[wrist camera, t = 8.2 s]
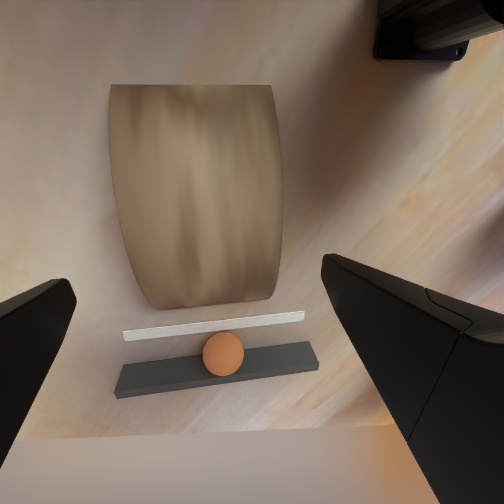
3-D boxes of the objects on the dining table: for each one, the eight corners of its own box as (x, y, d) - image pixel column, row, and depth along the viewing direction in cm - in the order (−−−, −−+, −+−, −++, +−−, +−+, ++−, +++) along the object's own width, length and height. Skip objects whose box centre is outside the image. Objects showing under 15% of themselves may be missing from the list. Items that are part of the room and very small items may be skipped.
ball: (239, 348, 28) (248, 379, 25) (202, 355, 27) (206, 389, 24) (238, 320, 26) (248, 350, 23) (199, 327, 25) (203, 360, 22)
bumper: (309, 341, 29) (319, 363, 26) (308, 347, 29) (318, 370, 27) (123, 364, 26) (114, 392, 24) (125, 371, 27) (116, 398, 24)
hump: (240, 81, 31) (292, 20, 12) (245, 242, 41) (276, 350, 22) (156, 80, 30) (61, 12, 11) (182, 247, 40) (157, 366, 21)
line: (304, 310, 27) (304, 311, 26) (303, 319, 27) (303, 320, 27) (122, 330, 24) (122, 332, 24) (125, 340, 25) (125, 341, 25)
